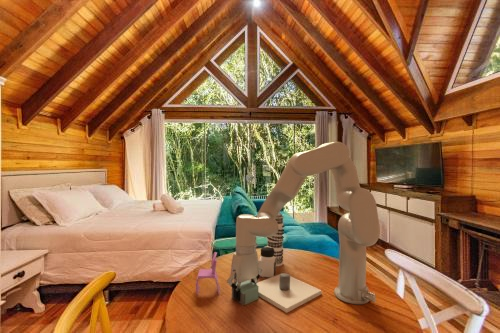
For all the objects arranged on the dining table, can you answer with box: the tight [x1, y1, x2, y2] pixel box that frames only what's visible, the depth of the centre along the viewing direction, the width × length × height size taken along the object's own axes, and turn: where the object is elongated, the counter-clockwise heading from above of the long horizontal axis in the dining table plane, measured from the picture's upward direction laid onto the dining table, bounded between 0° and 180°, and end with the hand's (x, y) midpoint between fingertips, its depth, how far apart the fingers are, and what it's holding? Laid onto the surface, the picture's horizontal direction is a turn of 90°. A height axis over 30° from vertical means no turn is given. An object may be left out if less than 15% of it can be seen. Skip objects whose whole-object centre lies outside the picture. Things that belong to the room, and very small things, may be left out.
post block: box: [257, 272, 322, 314], centre depth 102 cm, size 20×20×6 cm
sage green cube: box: [231, 280, 259, 306], centre depth 97 cm, size 7×7×5 cm
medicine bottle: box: [258, 245, 277, 279], centre depth 118 cm, size 7×7×12 cm
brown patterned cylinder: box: [266, 212, 286, 267], centre depth 131 cm, size 9×9×25 cm
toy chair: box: [195, 251, 220, 297], centre depth 102 cm, size 8×9×15 cm
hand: (244, 295), depth 97 cm, fingers closed on sage green cube, 7 cm apart
